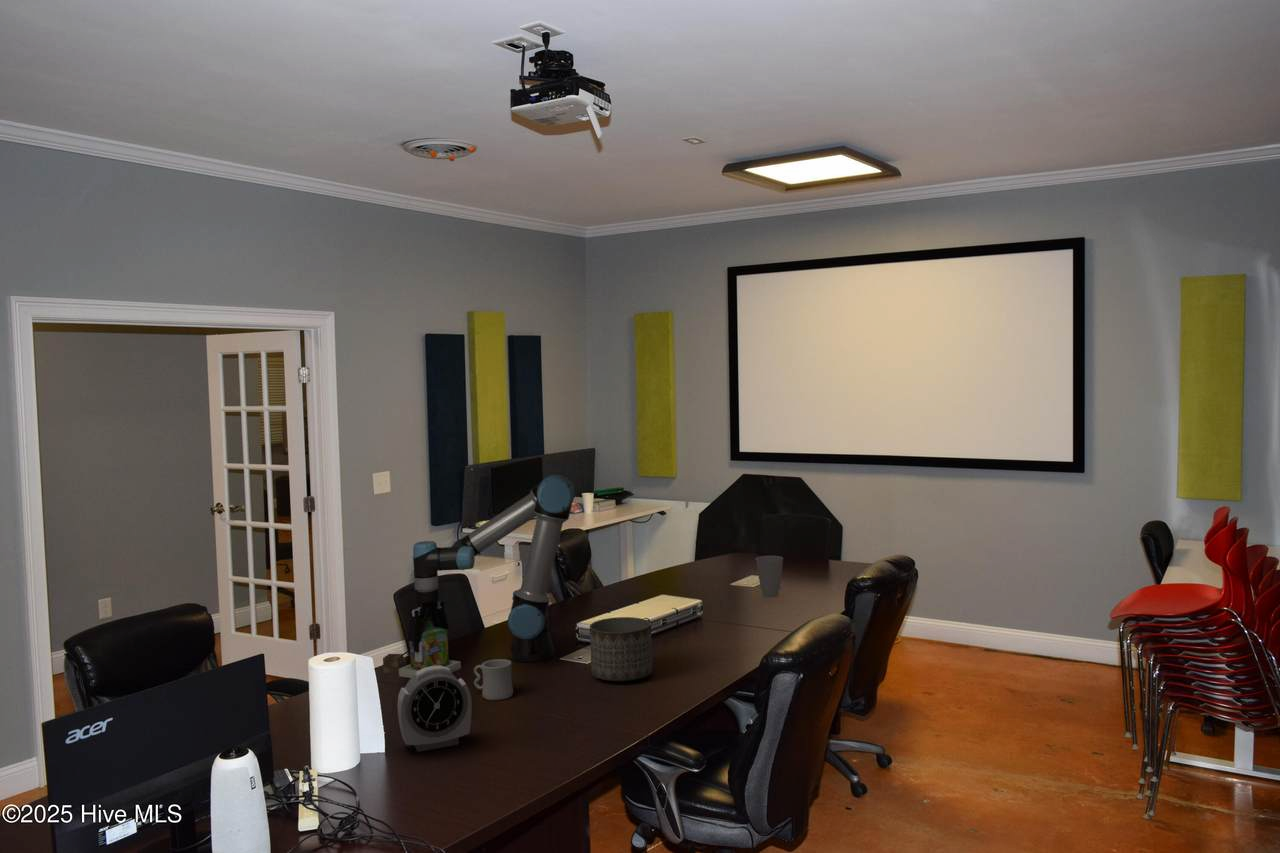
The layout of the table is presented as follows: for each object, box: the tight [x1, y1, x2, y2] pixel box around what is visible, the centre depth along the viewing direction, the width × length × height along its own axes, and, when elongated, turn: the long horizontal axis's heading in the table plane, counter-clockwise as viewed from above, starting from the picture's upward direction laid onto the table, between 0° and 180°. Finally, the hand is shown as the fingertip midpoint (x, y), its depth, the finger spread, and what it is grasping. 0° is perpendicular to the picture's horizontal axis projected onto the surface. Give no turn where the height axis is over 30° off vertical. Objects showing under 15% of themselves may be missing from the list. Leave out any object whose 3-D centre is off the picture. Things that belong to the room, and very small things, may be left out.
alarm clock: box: [396, 665, 472, 753], centre depth 238 cm, size 18×8×20 cm, turn 114°
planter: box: [589, 616, 654, 683], centre depth 289 cm, size 19×19×16 cm
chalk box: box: [409, 618, 450, 669], centre depth 301 cm, size 9×9×15 cm
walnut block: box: [382, 653, 405, 674], centre depth 305 cm, size 5×5×5 cm
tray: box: [398, 659, 462, 679], centre depth 301 cm, size 14×14×2 cm
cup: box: [755, 555, 784, 598], centre depth 396 cm, size 12×12×16 cm
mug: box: [473, 658, 514, 701], centre depth 275 cm, size 12×9×10 cm
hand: (429, 657), depth 301 cm, fingers closed on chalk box, 9 cm apart
